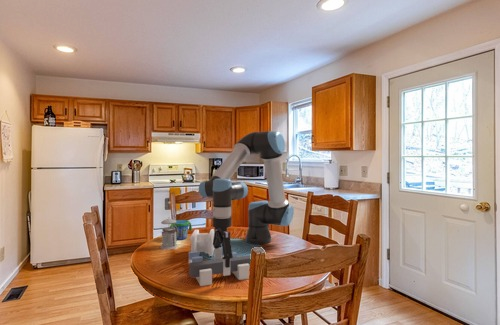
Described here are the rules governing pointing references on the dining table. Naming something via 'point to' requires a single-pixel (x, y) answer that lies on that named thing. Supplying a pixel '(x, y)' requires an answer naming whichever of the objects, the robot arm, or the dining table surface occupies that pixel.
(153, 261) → the dining table surface
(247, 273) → the white notched holder
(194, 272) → the dark gray bar
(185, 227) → the snack cup
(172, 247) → the french press
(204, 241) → the cable organizer
